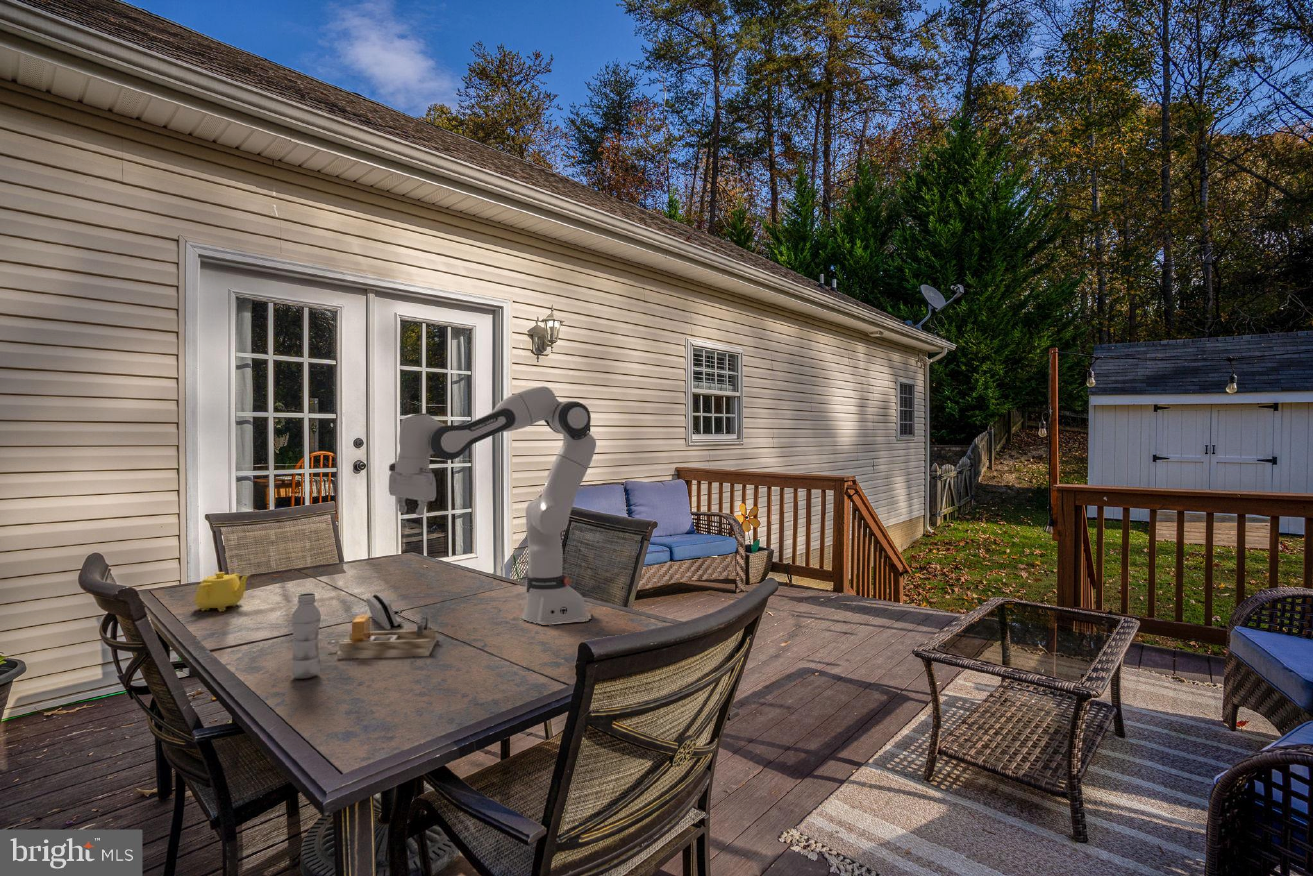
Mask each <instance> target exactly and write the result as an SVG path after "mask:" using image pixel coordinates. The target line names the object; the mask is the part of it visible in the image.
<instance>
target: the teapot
mask: <svg viewBox="0 0 1313 876" xmlns="http://www.w3.org/2000/svg"><path fill="white" fill-rule="evenodd" d="M214 573H215V574H214V575H212V576H207V577H205V578H203V579H202V581H201V583H200V584H199V585H198V588H197V590H196V593H195V596H194V597H195V598H194V603H195V604H196V606H197V607H198V608H201V609H200V610H207V611H209V610H210V609H216V608H217V611H218V610H226V611H227V607H230V606H235V607H237V606H236V605H238V603H239V602H241V601H242V599H243V598H244V594H245V591H246V586H247V585H246V584H247V579H248V578H249V576H251V574H247V575H243V576H242V577H241V578H240V574H239V573H233V574H225V573H226V572H225V571H219V572H218V571H217V572H214Z"/></svg>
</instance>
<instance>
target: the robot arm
mask: <svg viewBox="0 0 1313 876" xmlns="http://www.w3.org/2000/svg"><path fill="white" fill-rule="evenodd" d="M591 418H592V417H591V413H590V410H589V408H588V407H587V406H586V405H585V404H583V402H582V403H581V402H579V401H573V400H565V401H560V400H558V399H557V397H556V394H555V393H554V391H553V390H552V389H551V388H549V387H548V386H536V387H532V388H529V389H526V390H522V391H519V392H517V393H515V394H512V395H510V396H508V397H506V398H504V399H503V400H501V401H500V402H498V404H497V405H496V406H495V408H494V409H493V410H492V411H490V412H489V413H488V414H486V415H484V416H482V417H479V418H476V419H474V420H472V421H470V422H467V423H464V424H459V425H454V424H449V425H447V424H445V423H443V422H441V421H439V420H437V419H435V418H434V417H433V416H431V415H430V414H429V413H425V412H424V413H414V414H412V413H411V414H408V415H406V416H405V417H403V418H402V420H401V423H400V429H399V436H398V437H399V438H398V444H399V453H398V456H397V460H396V461H394V462H392V463H390V464H389V465H388V471H389V477H388V492H389V495H390V496H393V497H396V503H397V506H398V512H399V513H406V512H407V508H408V507H407V505H406V503H405V502H406V499H410V500H417V504H418V507H417V508H416V509H415V515H416V516H421V517H422V516H424V514H425V509H426V507H427V505H428V502H433V501H435V500H436V497H437V482H436V477H435V474H434V473H433V471H432V469H431V468H430V459H431V458H430V457H431V455H436V457H438V458H439V459H441V460H445V461H452V460H453V461H454V460H456V459H458V458H460V457H461V456H463V455H464V453H466V452H467V450H468V449H469V448H470V447H472V446H473V445H474V444H476V443H478V442H479V443H480V442H481V441H483V440H485V439H488V438H490V437H492V436H494V435H498V434H500V433H505V432H512V431H517V430H521V429H525V428H526V427H529V426H532V425H534V424H537V423H538V422H541V421H542V422H544V423H545V424H546V425H547V427H548V428H549V429H551V430H552V431H553V432H554V433H556V434H559V435H562V436H563V437H562V438H563V439H562V445H561V447H560V450H559V452H558V454H557V455H556V458H555V460H554V462H553V464H552V466H551V468H550V470H549V471H548V474H547V475H546V480H545V484H544V487H543V490H542V492H541V496H538V497H536V498H534V499H532V500H531V501H530V502H529V503H528V504H527V506H526V508H525V522H526V524H525V526H526V538H527V548H528V556H527V557H528V558H527V559H528V562H527V563H528V564H527V574H526V578H525V579H526V581H525V591H526V598H525V605H524V609H523V613H522V616H521V618H523V619H524V620H527V621H529V622H528V623H530V622H537V623H539V624H552V623H558V622H567V621H571V620H574V619H579V618H581V617H585V615H586V611H585V609H586V604H585V601H584V600H585V599H584V597H583V596H582V595H581V594H580V593H579V592H577V591H576V590H575V589H574V588H572V587H571V586H570V585H569V584H570V583H571V578H570V577H569V576H568V575H567V574H564V573H563V559H564V558H563V553H564V551H563V550H564V549H563V546H562V540H561V533H563V532H564V531H565V529H566V528H567V527H568V525H569V523H570V522H569V521H570V515H571V513H572V509H573V506H574V502H575V501H576V496H577V493H578V491H579V488H580V487H581V484H582V482H583V480H584V478H585V476H586V473H587V472H588V469H589V467H590V465H591V462H592V461H593V458H594V455H595V452H596V451H595V450H596V448H597V441H596V438H595V437H594V436H593V435H592V434H591V423H592V419H591ZM523 619H522V620H523ZM524 620H523V621H524ZM527 621H526V622H527Z"/></svg>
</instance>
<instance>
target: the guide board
mask: <svg viewBox="0 0 1313 876" xmlns="http://www.w3.org/2000/svg"><path fill="white" fill-rule="evenodd" d="M372 635H398V640H394V641H390V640H386V641H362V642H352V631H350V632H349V640H351V642H341V643H339V650H338V652H337V653H336V660H353V659H352V658H354V659H355V658H359V659H378V658H379V659H380V658H381V659H382V658H383V659H384V658H407V657H408V658H411V657H413V656H415V657H429V656H430V653H431V652H432V650H433V648H434V647H435V645H436V642H437V641H438V633H437V629H428V630H423V636H418V637H417V629H412V630H411V629H410V630H375V631H374V630H373V631H372V630H370V637H371V636H372ZM434 644H435V645H434ZM433 646H434V647H433ZM342 658H343V659H342ZM345 658H346V659H345ZM347 658H348V659H347ZM350 658H351V659H350Z"/></svg>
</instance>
